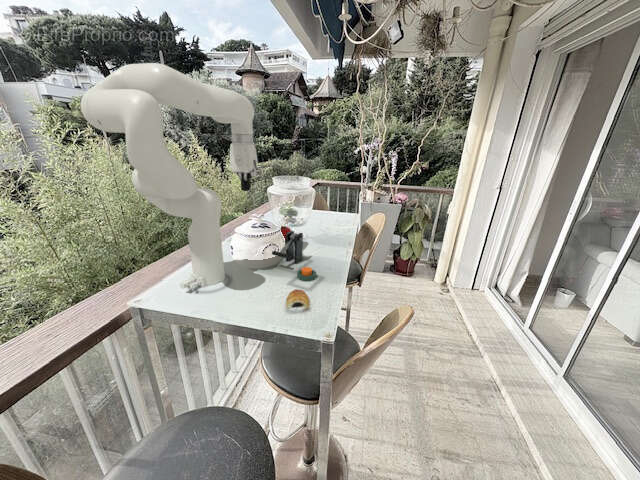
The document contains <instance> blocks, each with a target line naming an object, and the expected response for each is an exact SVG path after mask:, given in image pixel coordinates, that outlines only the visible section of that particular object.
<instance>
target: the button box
mask: <svg viewBox="0 0 640 480" xmlns="http://www.w3.org/2000/svg"><path fill="white" fill-rule="evenodd" d="M296 277H297V279H298V280H299V281H301V282H305V283H307V282H313V281H314V280H316V279H317V271H316V270H314V269H312V275H309V276H304V275H302V268H301V269H299V270H297V272H296Z"/></svg>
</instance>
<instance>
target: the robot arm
mask: <svg viewBox="0 0 640 480" xmlns="http://www.w3.org/2000/svg"><path fill="white" fill-rule="evenodd" d="M162 105H163V106H166V107H168V108H169V107H170V108H173V109H176V110H180V111H183V112H186V113H188V114H192V115H195V116H202V117H210V118H212V119H213V120H214V121H215V122H217V123H220V124H230V129H231V131H230V132H231V136H230V140H231V143H230V145H229V168H230V171H232V173H233V174H234V175H237V177H238V179H239V180H240V187H241V188H240V190H241V191H242V192H247V191H251V180H252V178H253V177H256V176H258V173H257V171H258V169H259V168H258V167H259V161H258V155H257V154H258V153H257V149H256V144H255V143H254V142H255V141H254V126H253V125H254V124H253V121H254V118H255V108H254V105H253V103H252V102H251V100H250V99H249V98H248V97H246V96H245V95H243V94H241V93H239V92H236V91H234V90H231V89H227V88H224V87H220V86H216V85H214V84H210V83H205V82H202V81H200V80H197V79H195V78H192V77H191V76H189V75H187V74H185V73H183V72H180V71H179V70H177V69H175V68H173V67H170V66H169V65H166V64H164V63H160V62H159V63H158V62H145V63H128V64H126V65H122V66H121V67H119V68H117V69H115V70H114V71H112V72H111V73H110V74H109V75H107V76H105V77H104V78H103V79H101V80H100V81H99V82H97V83H96V84H94V85H93V86H92V87H90V88H89V89H88V90H86V91H85V92H84V93H83V95H82V97H81V100H80V110H81V113H82V115H83V117H84V119H85V120H86V121H87V123H89V124H90V126H92V127H94V128H95V129H97V130H99V131H102V132H106V133H114V134H115V133H116V134H117V133H119V134H125V149H126V157H127V159H128V161H129V164H130V166H132V167H133V171H132V173H131V181H132V184H133V187H134V190H136V192H137V193H138V194H139V195H140V196H141V197H142V198H144V199H145V200H147V201H148V202H149V203H150V204H153V205H154V206H155V207H156V208H158V209H160V210H161V211H162V212H164V213H166V214H167V215H168V216H172V217H177V218H183V219H190V220H191V222H190V225H189V227H188V229H187V241H188V247H189V255H190V260H191V268H192V273H190V274H189V275H190V277H188V279H187V280H185V281H182V282H180V283H179V286H180V288H181V289H185V288H188V287H189V288H190V289H192V290H193V291H196V292H198V290H197V289H194V288H195V287H197V286H198V287H200V288H205V287H209V286H214V285H218V284H220V283H222V282H224V280H225V278H226V272H225V263H224V253H223V243H222V234H221V211H222V200H221V198H220V195H219V194H218V193H217V192H216V191H214V190H212V189H210V188H204V187H198V183H197V181H196V178H195V177H194V175H193V174H192V173H191V172H190V171H189V169H187V168H186V167H185V165H184V164H183V163H181V162H180V161H179V160H178V158H176V157H175V155H173V154H172V152H171V151H170V150H169V149H168V147H167V145H166V143H165V138H164V114H163V110H162V108H161V106H162Z"/></svg>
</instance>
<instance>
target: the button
mask: <svg viewBox="0 0 640 480" xmlns="http://www.w3.org/2000/svg"><path fill="white" fill-rule="evenodd" d="M301 269H302V275H304V276H309V275H312V270H313V268H312V267H309V266H304V267H302V268H301Z"/></svg>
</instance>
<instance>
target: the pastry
mask: <svg viewBox="0 0 640 480" xmlns="http://www.w3.org/2000/svg"><path fill="white" fill-rule="evenodd" d="M309 306H310V298H309V296H308V295H307V293H306V292H305V290H302V289H297V288H296V289H293V290H292V291H290V292H289V293H288V295H287V297H286V308H288V309H294V308H298V307H299V308H300V307H302V308H304V309H303V311H306V310H307V309H308V308H309Z"/></svg>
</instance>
